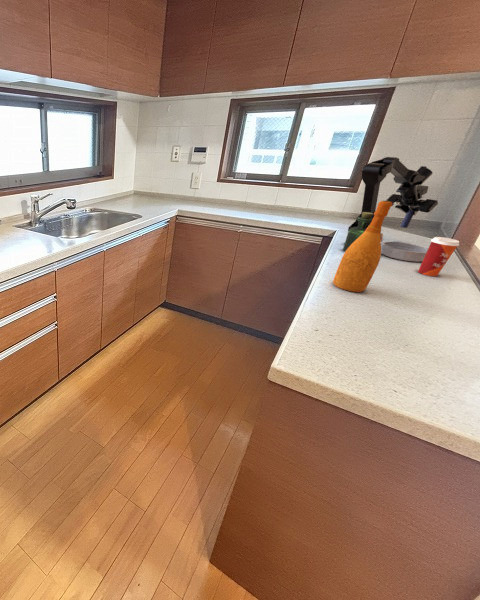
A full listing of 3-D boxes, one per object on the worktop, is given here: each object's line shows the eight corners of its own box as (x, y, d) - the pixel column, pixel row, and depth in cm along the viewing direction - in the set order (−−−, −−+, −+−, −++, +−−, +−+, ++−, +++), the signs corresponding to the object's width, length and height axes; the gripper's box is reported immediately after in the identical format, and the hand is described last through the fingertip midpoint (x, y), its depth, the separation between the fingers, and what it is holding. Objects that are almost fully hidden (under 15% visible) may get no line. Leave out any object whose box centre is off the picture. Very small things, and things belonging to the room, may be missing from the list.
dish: (414, 264, 138) (420, 254, 135) (371, 253, 150) (375, 243, 148) (431, 259, 144) (437, 249, 142) (388, 248, 157) (393, 239, 155)
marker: (405, 228, 166) (417, 204, 160) (398, 226, 168) (410, 203, 162) (408, 227, 167) (420, 203, 161) (401, 226, 169) (412, 202, 164)
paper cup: (436, 278, 124) (456, 243, 118) (410, 271, 130) (428, 237, 124) (444, 275, 127) (464, 240, 121) (419, 268, 133) (437, 235, 127)
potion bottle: (355, 255, 146) (373, 215, 138) (336, 250, 153) (352, 211, 145) (365, 253, 150) (383, 214, 141) (346, 248, 156) (362, 210, 148)
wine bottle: (367, 295, 109) (411, 205, 95) (332, 288, 114) (369, 201, 100) (363, 285, 117) (403, 200, 103) (330, 279, 121) (364, 196, 107)
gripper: (446, 182, 148) (447, 205, 156) (399, 177, 163) (402, 198, 172) (427, 200, 149) (429, 223, 157) (382, 193, 164) (386, 214, 173)
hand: (411, 214), depth 165 cm, fingers closed on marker, 3 cm apart
